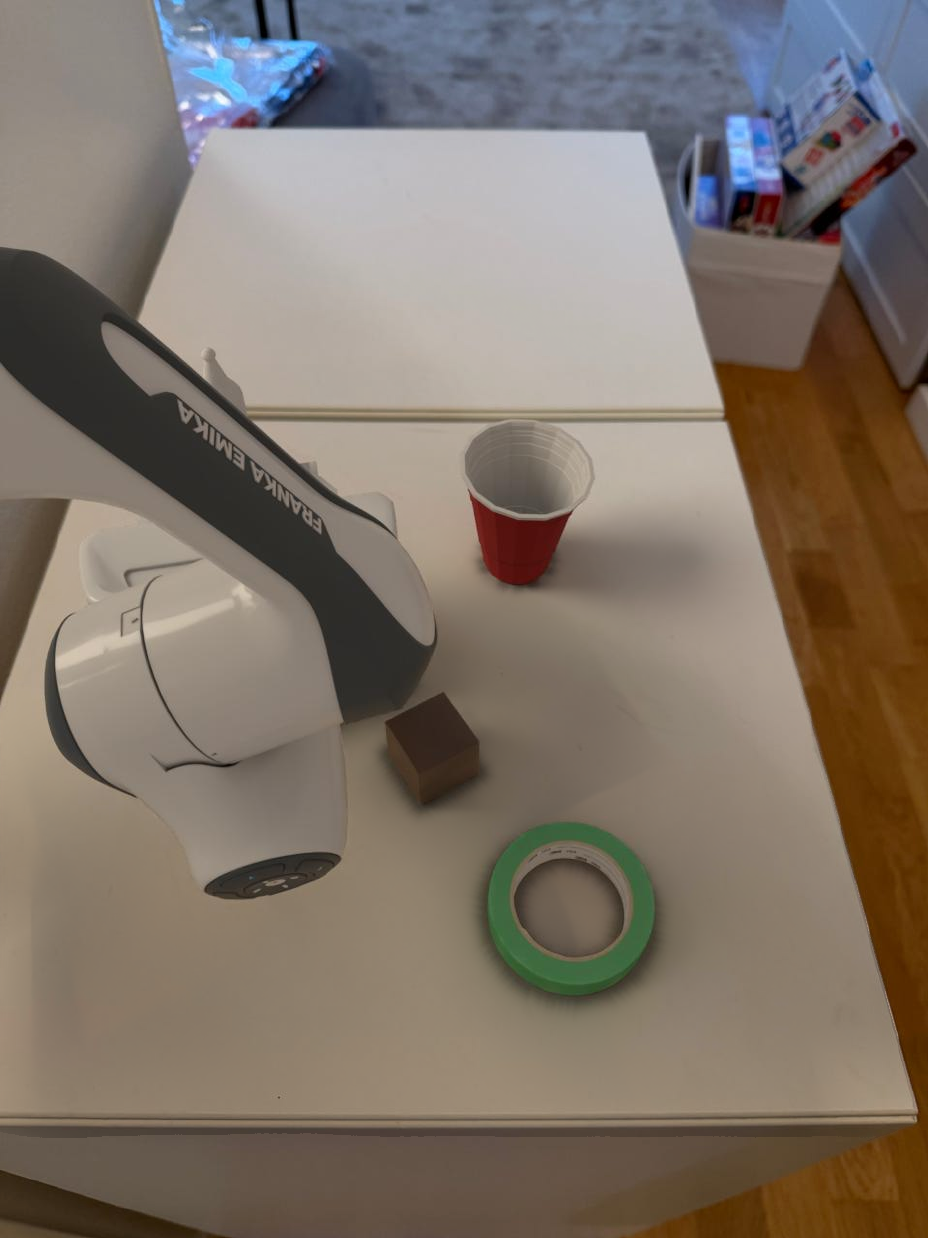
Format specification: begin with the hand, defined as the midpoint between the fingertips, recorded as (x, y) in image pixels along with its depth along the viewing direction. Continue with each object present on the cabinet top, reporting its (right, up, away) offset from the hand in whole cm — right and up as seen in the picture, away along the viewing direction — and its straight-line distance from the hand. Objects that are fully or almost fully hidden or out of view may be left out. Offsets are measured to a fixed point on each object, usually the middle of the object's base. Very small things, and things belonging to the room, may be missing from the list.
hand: (238, 477), depth 64 cm
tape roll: (+23, -30, -1) cm, 38 cm away
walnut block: (+13, -21, +6) cm, 25 cm away
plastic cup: (+21, -5, +18) cm, 28 cm away
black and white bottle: (0, -9, +11) cm, 14 cm away
